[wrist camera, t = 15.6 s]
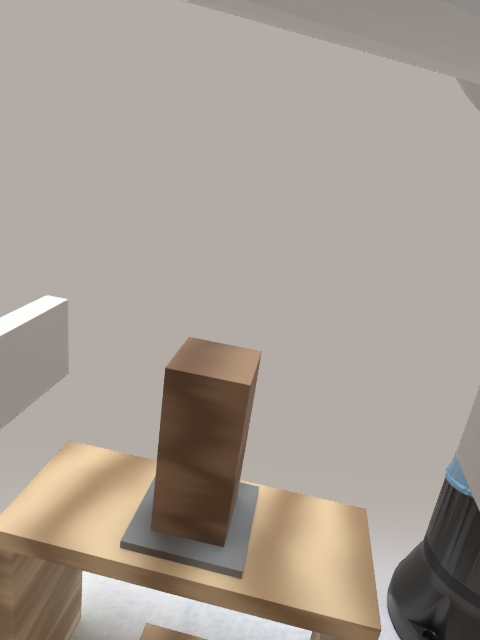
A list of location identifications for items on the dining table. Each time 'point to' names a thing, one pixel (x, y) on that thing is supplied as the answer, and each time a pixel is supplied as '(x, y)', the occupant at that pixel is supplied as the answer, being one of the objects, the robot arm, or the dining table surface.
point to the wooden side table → (179, 552)
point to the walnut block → (203, 439)
